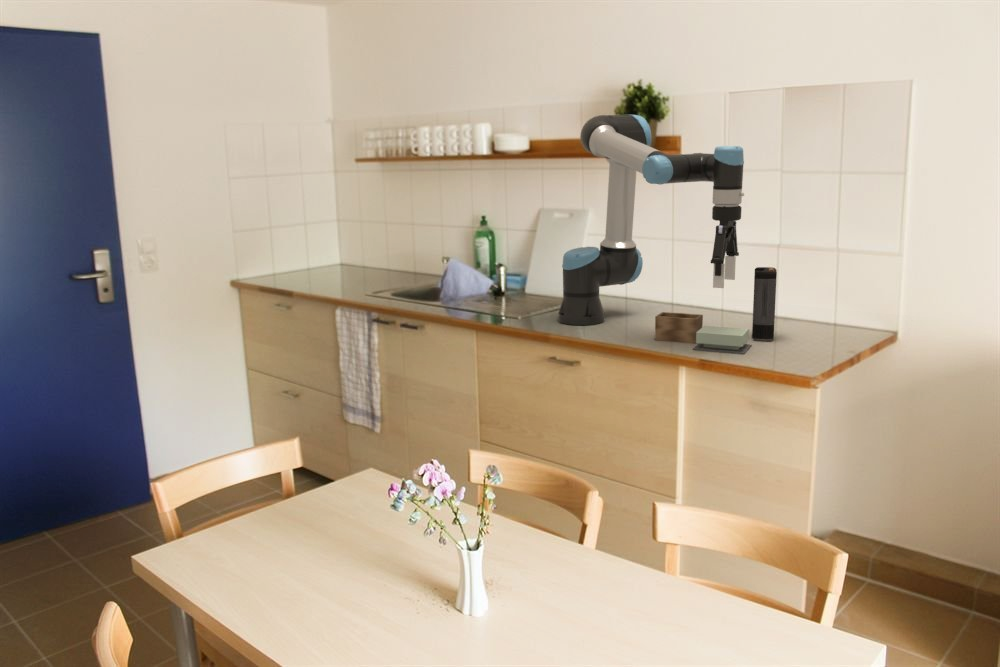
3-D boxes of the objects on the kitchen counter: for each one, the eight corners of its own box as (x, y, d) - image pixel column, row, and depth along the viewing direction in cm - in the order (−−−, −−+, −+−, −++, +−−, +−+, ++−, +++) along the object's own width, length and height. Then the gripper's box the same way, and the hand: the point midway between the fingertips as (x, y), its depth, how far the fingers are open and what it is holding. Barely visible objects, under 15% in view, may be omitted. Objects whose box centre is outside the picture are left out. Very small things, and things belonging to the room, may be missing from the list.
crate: (655, 340, 246) (655, 316, 244) (662, 334, 252) (662, 311, 250) (696, 343, 240) (696, 319, 239) (702, 338, 247) (702, 314, 245)
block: (695, 348, 234) (696, 332, 233) (703, 341, 241) (704, 325, 240) (741, 352, 228) (742, 336, 227) (748, 344, 236) (749, 329, 235)
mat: (692, 349, 234) (692, 348, 233) (701, 341, 242) (701, 340, 242) (744, 354, 227) (744, 352, 227) (751, 345, 236) (751, 344, 236)
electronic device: (752, 333, 250) (754, 266, 246) (773, 334, 248) (776, 267, 244) (751, 341, 241) (754, 271, 237) (773, 341, 240) (776, 272, 235)
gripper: (731, 209, 213) (727, 292, 218) (750, 201, 235) (747, 276, 240) (701, 209, 217) (698, 290, 222) (723, 201, 238) (720, 275, 243)
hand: (724, 283), depth 231 cm, fingers open, 13 cm apart
